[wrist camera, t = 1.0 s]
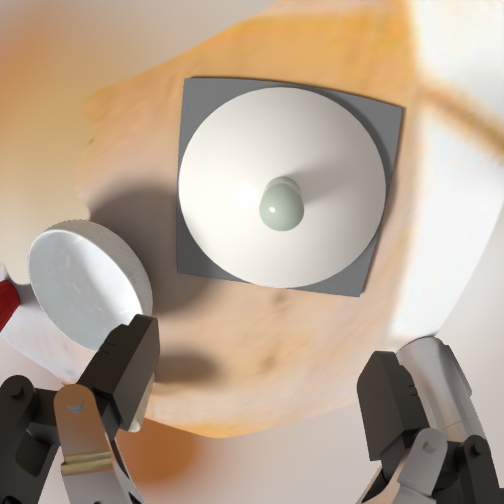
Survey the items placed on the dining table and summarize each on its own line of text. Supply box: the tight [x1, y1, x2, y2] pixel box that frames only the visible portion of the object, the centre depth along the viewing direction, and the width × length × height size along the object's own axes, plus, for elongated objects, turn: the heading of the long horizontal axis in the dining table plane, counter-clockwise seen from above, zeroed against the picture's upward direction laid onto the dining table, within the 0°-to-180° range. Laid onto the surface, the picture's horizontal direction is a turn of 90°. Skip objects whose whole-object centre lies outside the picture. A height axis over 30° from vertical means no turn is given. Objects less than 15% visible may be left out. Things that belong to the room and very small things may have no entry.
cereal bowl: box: [28, 220, 153, 353], centre depth 29 cm, size 17×17×7 cm
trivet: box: [177, 78, 402, 297], centre depth 26 cm, size 20×20×1 cm
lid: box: [179, 87, 386, 288], centre depth 23 cm, size 19×19×6 cm
